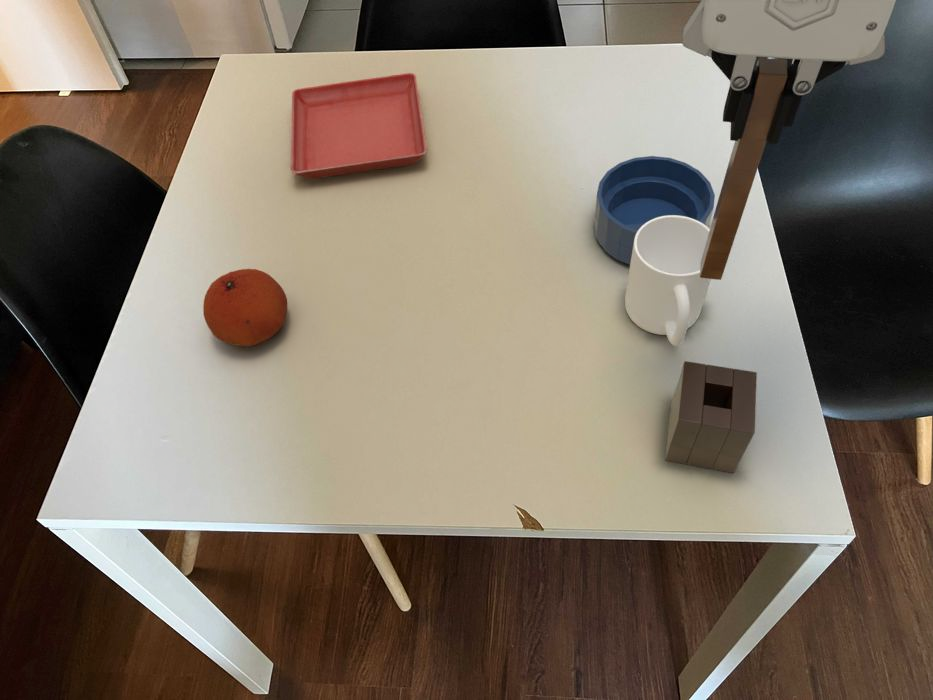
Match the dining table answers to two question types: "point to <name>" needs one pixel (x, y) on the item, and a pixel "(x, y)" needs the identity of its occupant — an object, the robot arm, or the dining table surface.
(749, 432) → the stand
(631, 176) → the bowl
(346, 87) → the plant saucer
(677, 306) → the cup
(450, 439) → the dining table surface
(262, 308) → the fruit
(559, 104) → the dining table surface
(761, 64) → the stick
